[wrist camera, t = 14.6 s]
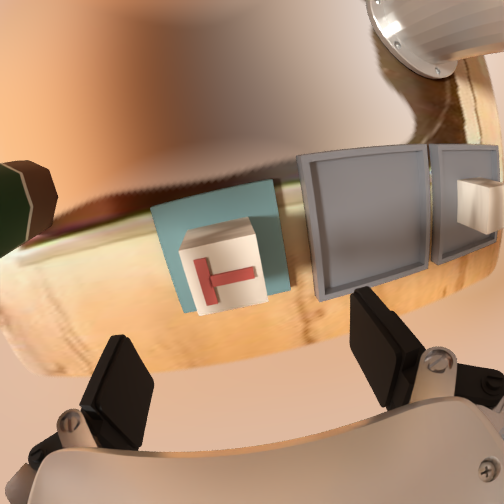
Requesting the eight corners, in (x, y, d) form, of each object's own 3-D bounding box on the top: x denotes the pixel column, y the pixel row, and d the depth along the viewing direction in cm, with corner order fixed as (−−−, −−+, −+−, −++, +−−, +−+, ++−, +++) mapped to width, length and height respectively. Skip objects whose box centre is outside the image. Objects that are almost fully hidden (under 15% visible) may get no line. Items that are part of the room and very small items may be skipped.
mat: (270, 178, 22) (272, 179, 21) (288, 286, 25) (290, 290, 25) (152, 206, 21) (150, 207, 21) (185, 308, 25) (184, 313, 24)
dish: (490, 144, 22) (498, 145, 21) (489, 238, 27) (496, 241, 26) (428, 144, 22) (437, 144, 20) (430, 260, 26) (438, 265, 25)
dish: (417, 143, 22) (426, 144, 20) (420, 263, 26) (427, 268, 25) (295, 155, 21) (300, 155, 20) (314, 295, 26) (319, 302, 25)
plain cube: (479, 177, 23) (508, 184, 19) (479, 215, 25) (506, 227, 20) (457, 179, 23) (488, 187, 18) (457, 222, 25) (486, 234, 20)
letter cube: (247, 216, 22) (255, 234, 17) (259, 272, 24) (268, 302, 19) (187, 230, 22) (177, 252, 17) (202, 284, 23) (198, 317, 19)
